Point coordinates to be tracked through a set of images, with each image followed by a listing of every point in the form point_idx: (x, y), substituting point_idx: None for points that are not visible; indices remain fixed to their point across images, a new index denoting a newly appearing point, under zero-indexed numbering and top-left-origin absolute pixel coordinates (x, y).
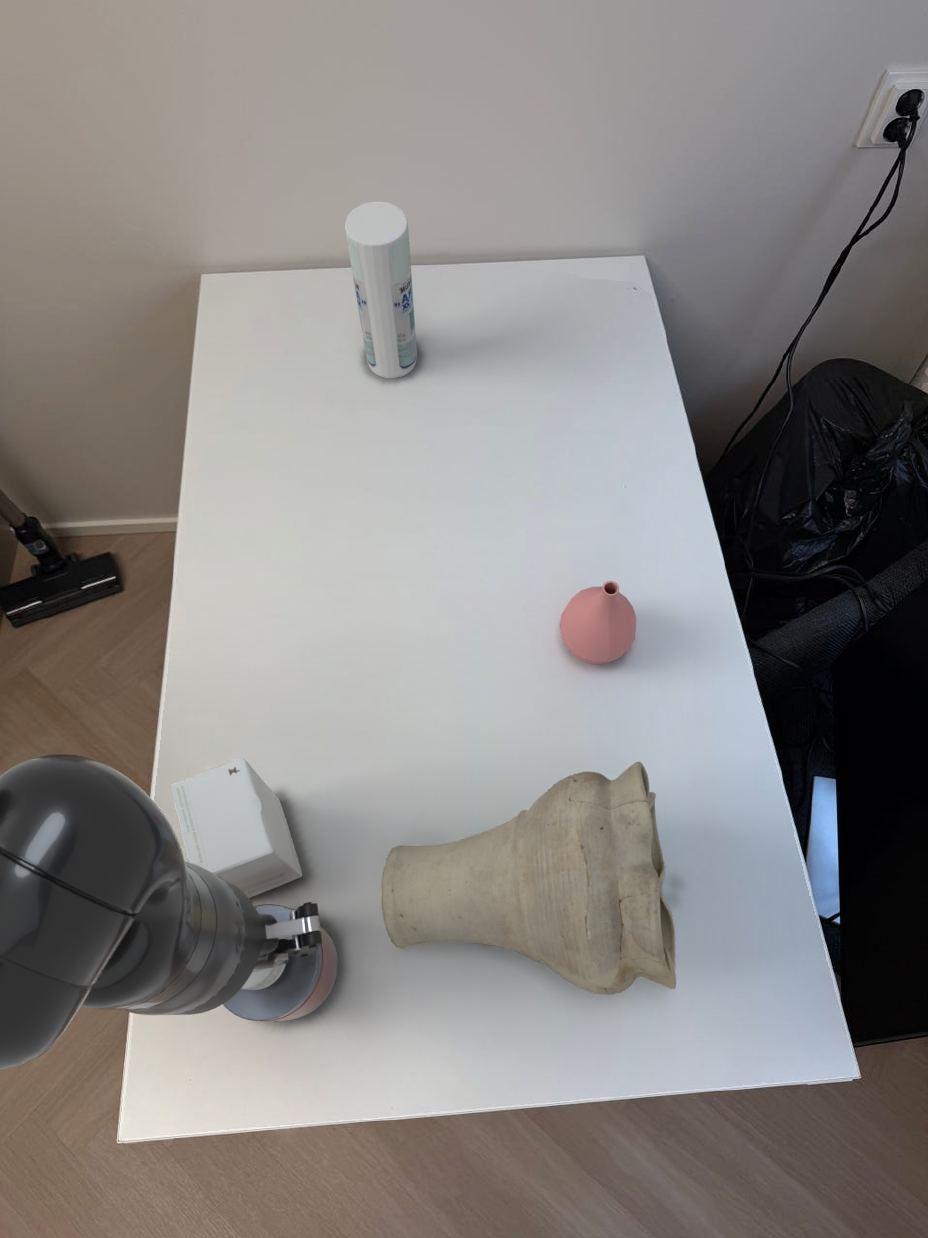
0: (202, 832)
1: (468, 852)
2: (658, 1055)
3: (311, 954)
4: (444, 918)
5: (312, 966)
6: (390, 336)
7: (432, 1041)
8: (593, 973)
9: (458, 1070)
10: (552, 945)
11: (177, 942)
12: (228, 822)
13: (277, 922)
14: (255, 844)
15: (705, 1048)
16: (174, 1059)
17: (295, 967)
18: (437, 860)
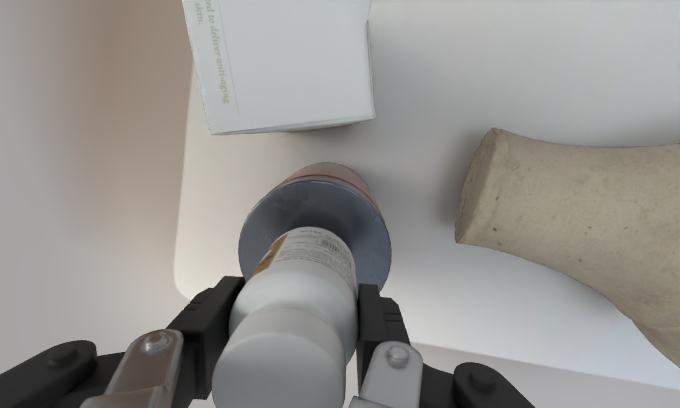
0: (231, 32)
1: (639, 182)
2: (626, 360)
3: (380, 265)
4: (553, 251)
5: (379, 280)
6: None
7: (441, 302)
8: None
9: (455, 328)
10: None
11: None
12: (291, 24)
13: (420, 387)
14: (343, 92)
15: (667, 365)
16: (209, 257)
17: (355, 275)
18: (577, 176)
